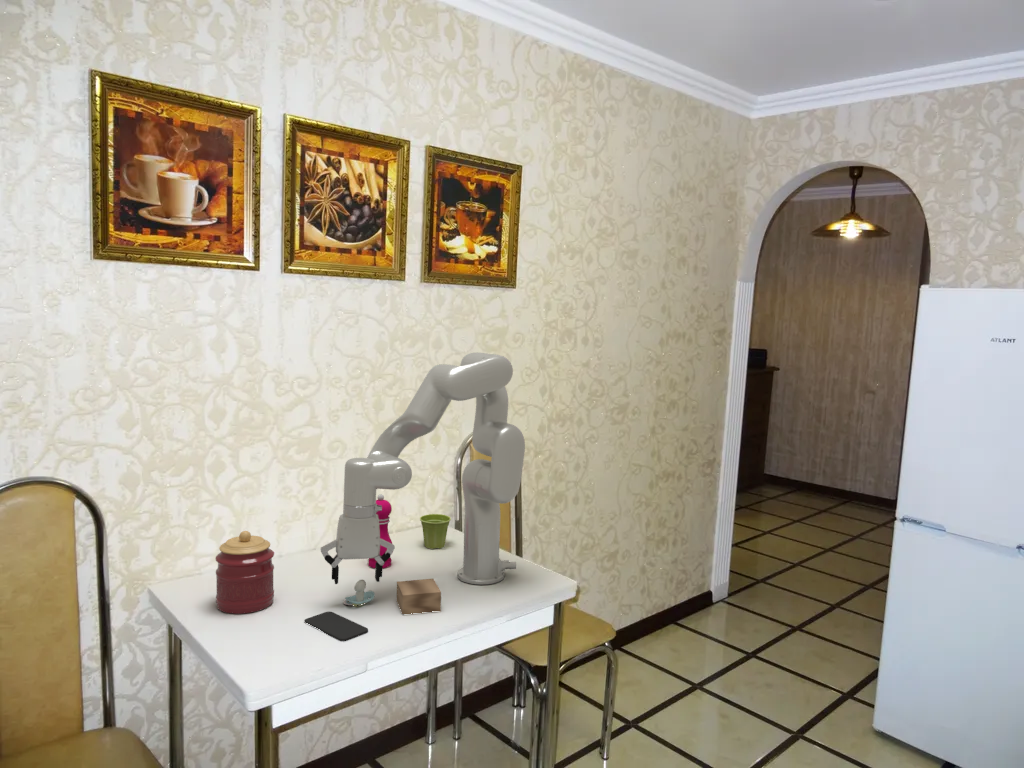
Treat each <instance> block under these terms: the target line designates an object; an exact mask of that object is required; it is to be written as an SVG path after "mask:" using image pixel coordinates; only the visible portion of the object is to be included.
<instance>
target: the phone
mask: <svg viewBox="0 0 1024 768" xmlns="http://www.w3.org/2000/svg"><path fill="white" fill-rule="evenodd" d="M304 621H305V622H306V623H308V624H310V625H312V626H314V627H316V628H318V629H320V630H321V631H323V632H324V634H325V633H326V635H327V634H328V635H327V636H329V637H331V638H333V639H335V640H337V641H339V642H348V641H350V640H354V639H355V638H357V637H360V636H364V635H366V634H367V633H369V629H368V627H365V626H364V625H362V624H359V623H357V622H355V621H353V620H351V619H348V618H347V617H344V616H342V615H340V614H338V613H335V612H333V611H324V612H322V613H319V614H317V615H316V614H315V615H313V616H311V617H307V618H305V619H304ZM305 622H304V623H305ZM306 623H305V624H306ZM308 624H307V625H308ZM310 625H309V626H310ZM312 626H311V627H312ZM314 627H313V628H314ZM316 628H315V629H316ZM318 629H317V630H318ZM321 631H320V632H321ZM323 632H322V633H323Z"/></svg>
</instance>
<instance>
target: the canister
mask: <svg viewBox="0 0 1024 768" xmlns="http://www.w3.org/2000/svg"><path fill="white" fill-rule="evenodd" d="M270 547H271V542H270V540H269V541H268V539H265V538H263V537H262V536H258V535H252V534H251V532H250V531H249V530H243V531H241V532H240V533H239V534H238V536H235V537H231V538H229V539H228V540H226V541H225V542H224V543H221V544H220V546H219V547H218V549H219V551H220V552H218V553H217V554H216V556H215V561H216V562H217V569H216V570H215V575H216V578H215V579H216V595H215V603H216V607H217V609H218V610H219V611H221V612H223V613H226V614H235V615H239V614H240V615H241V614H250V613H255V612H258V611H262V610H264V609H267V608H268V607H270V606H271V605H272V604H273V602H274V598H275V589H274V570H275V565H274V564H273V559H272V558H273V557H274V556H275V552H274V551H273V550H272V549H271V548H270Z"/></svg>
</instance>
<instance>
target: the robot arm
mask: <svg viewBox="0 0 1024 768" xmlns="http://www.w3.org/2000/svg"><path fill="white" fill-rule="evenodd" d="M513 372H514V369H513V365H512V363H511V361H510V360H509V359H508V358H507V357H505V356H504V355H500V354H494V353H493V354H491V353H485V352H470V353H467V354H466V355H464V356H463V357H462V359H461V361H460V365H454V364H448V363H447V364H445V363H444V364H443V363H441V364H437V365H434V366H433V367H432V368H431V369H429V371H428V373H427V374H426V376H425V377H424V379H423V380H422V382H421V383H420V386H419V387H418V388H417V391H416V393H415V394H414V396H413V398H412V399H411V401H410V403H409V404H408V406H407V408H406V409H405V411H404V412H403V413H402V414H401V415H400V416H398V417H397V418H396V419H395V420H394V421H393V422H392V423H391V424H390V425H389V426H388V427H387V428H385V430H383V432H382V433H381V434H380V436H379V437H378V438H377V439H376V441H375V443H374V445H373V446H372V448H371V450H370V452H369V454H368V455H367V457H354V458H353V457H352V458H349V459H347V460H346V462H345V465H344V479H343V480H344V481H343V483H344V484H343V506H342V507H343V508H342V510H343V511H342V512H343V513H342V514H340V515H339V517H338V521H337V528H336V539H334V540H333V541H330V542H328V543H327V544H325V545H323V546H322V547H320V552H321V555H322V557H323V558H324V560H325V562H327V564H329V566H331V580H333V582H334V584H335V585H338V584H339V573H340V572H339V571H340V570H339V564H340V562H342V560H364V559H368V560H369V558H374V559H375V560H376V561H377V562H376V565H375V568H374V571H375V572H374V579H375V581H376V582H377V583H378V582H379V583H380V581H381V580H380V579H381V578H382V577H383V569H384V568H383V565H384V563H385V562H386V561H387V560H388V559H389V558H390V557H391V555H393V553H394V551H395V545H394V544H393V543H392V544H391V543H389V542H387V541H385V540H383V539H381V538H380V528H379V518H378V515H377V514H376V513H377V512H378V511H382V505H377V504H376V500H377V490H378V489H380V490H401V489H402V488H405V487H406V486H407V485H408V484H409V483H410V481H411V480H412V477H413V470H412V467H411V466H410V464H409V463H407V461H405V460H403V459H402V458H400V457H399V456H400V455H401V453H402V452H403V450H404V449H405V448H406V447H407V446H408V445H409V444H411V442H413V441H414V440H417V439H418V438H421V437H423V436H426V435H427V434H429V433H432V432H433V431H434V430H435V429H437V426H438V424H439V423H440V420H441V419H442V417H443V416H444V414H445V412H446V410H447V408H448V407H449V406H450V403H451V402H452V401H456V402H457V401H458V402H460V401H462V402H463V401H468V400H472V399H475V404H476V405H475V414H474V422H473V429H472V437H471V438H472V439H471V442H472V447H473V449H474V450H475V451H476V452H477V453H479V454H481V455H484V456H487V457H490V458H491V460H487V459H483V458H478V459H474V460H472V461H469V463H467V464H466V465H465V467H464V469H463V471H462V476H461V484H462V491H463V492H462V493H463V500H464V501H463V503H464V523H463V525H464V526H463V530H464V531H463V561H462V563H463V565H462V566H463V567H461V568H459V569H458V570H457V574H456V577H457V578H458V579H459V580H460V581H461V582H463V583H467V584H470V585H471V584H472V585H481V586H482V585H492V584H497V583H498V582H501V581H503V580H504V578H505V571H506V570H516V569H517V562H516V561H509V559H505V560H504V559H503V560H502V559H501V558H500V538H501V537H500V535H501V533H500V532H501V507H500V506H501V505H500V504H503V505H504V504H508V503H511V501H513V500H514V499H515V497H516V496H517V494H518V493H519V490H520V486H521V481H522V477H523V476H522V475H523V468H524V460H525V453H526V442H525V438H524V437H525V436H524V433H523V432H522V431H521V429H520V428H519V427H518V426H516V425H514V424H512V423H508V415H509V414H508V413H509V394H508V391H507V388H506V386H507V385H508V384H509V383H510V382H511V380H512V378H513ZM380 545H381V546H384V547H386V548H387V551H386V552H385V553H384V554H383V555H382V556H380ZM332 549H335V553H336V554H335V555H334V556H331V555H330V554H329V551H331V550H332ZM392 552H393V553H392Z"/></svg>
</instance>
